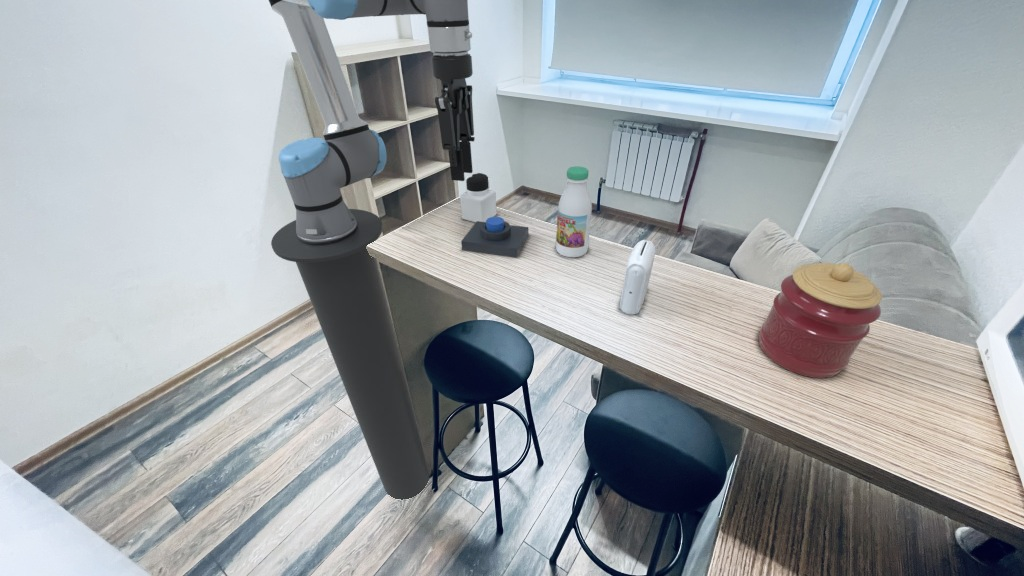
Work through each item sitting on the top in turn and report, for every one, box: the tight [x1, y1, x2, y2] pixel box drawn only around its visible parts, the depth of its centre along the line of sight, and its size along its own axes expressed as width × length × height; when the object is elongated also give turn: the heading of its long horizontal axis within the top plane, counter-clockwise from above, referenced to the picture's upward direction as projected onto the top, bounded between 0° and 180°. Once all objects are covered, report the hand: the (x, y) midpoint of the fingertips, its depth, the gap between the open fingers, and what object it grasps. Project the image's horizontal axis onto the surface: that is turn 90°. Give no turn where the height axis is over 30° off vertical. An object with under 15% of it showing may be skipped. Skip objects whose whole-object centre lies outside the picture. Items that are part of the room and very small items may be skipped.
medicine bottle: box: [459, 172, 498, 223], centre depth 111 cm, size 7×7×12 cm
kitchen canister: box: [758, 262, 883, 379], centre depth 65 cm, size 13×13×18 cm
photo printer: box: [619, 239, 656, 315], centre depth 79 cm, size 10×4×12 cm, turn 155°
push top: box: [486, 216, 505, 232], centre depth 99 cm, size 4×4×2 cm
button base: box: [461, 220, 529, 258], centre depth 101 cm, size 14×11×4 cm
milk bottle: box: [555, 166, 593, 258], centre depth 93 cm, size 8×8×20 cm
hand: (462, 175), depth 89 cm, fingers open, 4 cm apart
